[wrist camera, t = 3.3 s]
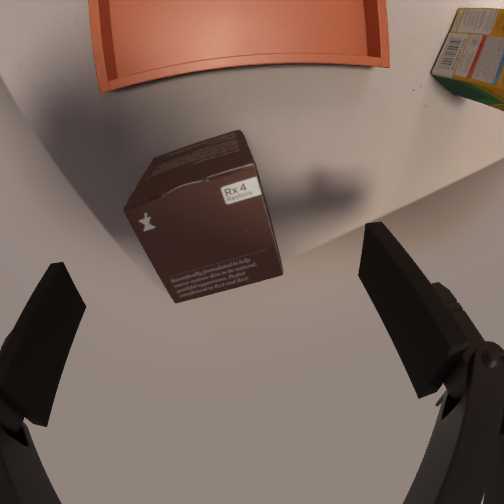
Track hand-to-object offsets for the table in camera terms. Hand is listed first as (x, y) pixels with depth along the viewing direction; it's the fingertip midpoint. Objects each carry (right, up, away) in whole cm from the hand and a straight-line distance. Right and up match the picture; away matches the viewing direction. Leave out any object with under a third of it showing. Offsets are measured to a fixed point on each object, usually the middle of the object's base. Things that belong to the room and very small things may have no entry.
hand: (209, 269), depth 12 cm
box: (-1, +5, +7) cm, 9 cm away
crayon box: (+17, +16, +2) cm, 23 cm away
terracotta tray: (+1, +17, -1) cm, 17 cm away
